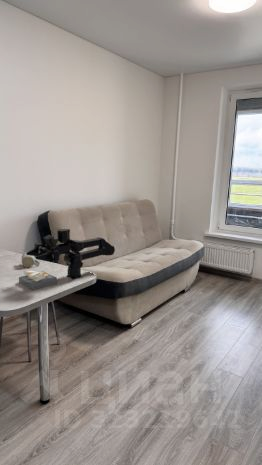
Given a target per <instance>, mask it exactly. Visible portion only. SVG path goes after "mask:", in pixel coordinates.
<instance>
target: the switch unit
mask: <svg viewBox="0 0 262 465" xmlns="http://www.w3.org/2000/svg"><path fill="white" fill-rule="evenodd" d="M38 272H39V273H40V274H44V275H45V278H44V279H41V280H39V281H37V282H35V281H33V279H30V278H28V276H26V275H22V276H21V275H20V276H19V277H18V283H20V284H22V285H23V286H25V287H27V288H28V289H30V290H31V291H32V290H37V289H39V288H44V287H47V286H51V285H54V284H57V283H58V280H57V279H58V278H57V276H54V275H52V274H50V273H48V272H45V271H44V270H43V271H38Z"/></svg>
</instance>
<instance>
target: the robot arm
mask: <svg viewBox="0 0 262 465" xmlns="http://www.w3.org/2000/svg"><path fill="white" fill-rule="evenodd" d="M70 233H71V229H69V228H57V229H56V236H57V237H54V236H53V235H51V234H48V235H46V236H44V237H43V240H44V242H45V244H44V245H43V244H42V243H40V242H37V243H34V247H33V248H32V249H31V250H29V251H26V252H27V253H26V252H25V253H26V255H31V256H34V257H35V260H37V261H42V262H43V261H44V262H49V263H55V264H56V263H58V262H59V261H60V257H61V255H63V261H64V263H65V265H66V266H68V267H67V275H66V277H68V278H69V279H71V280H76V279H78V278H82V277H83V275H82V270H81V268H82V267H83V265H84V262H83V261H86V260H89V259H93V258H96V257H100V256H113V255H114V254H115V251H116V248H115V246H114V245H111V243H109V242H108V241H107V240H106V239H105V238H104V237H103V238H102V237H96V238H90V239H89V238H88V239H84V240H83V239H82V240H78V239H77V240H75V239H71V237H70V236H71V234H70ZM58 242H59V243H58ZM92 247H96V248H93V249H90V250H86V251H83V250H85V249H86V248H92Z"/></svg>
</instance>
